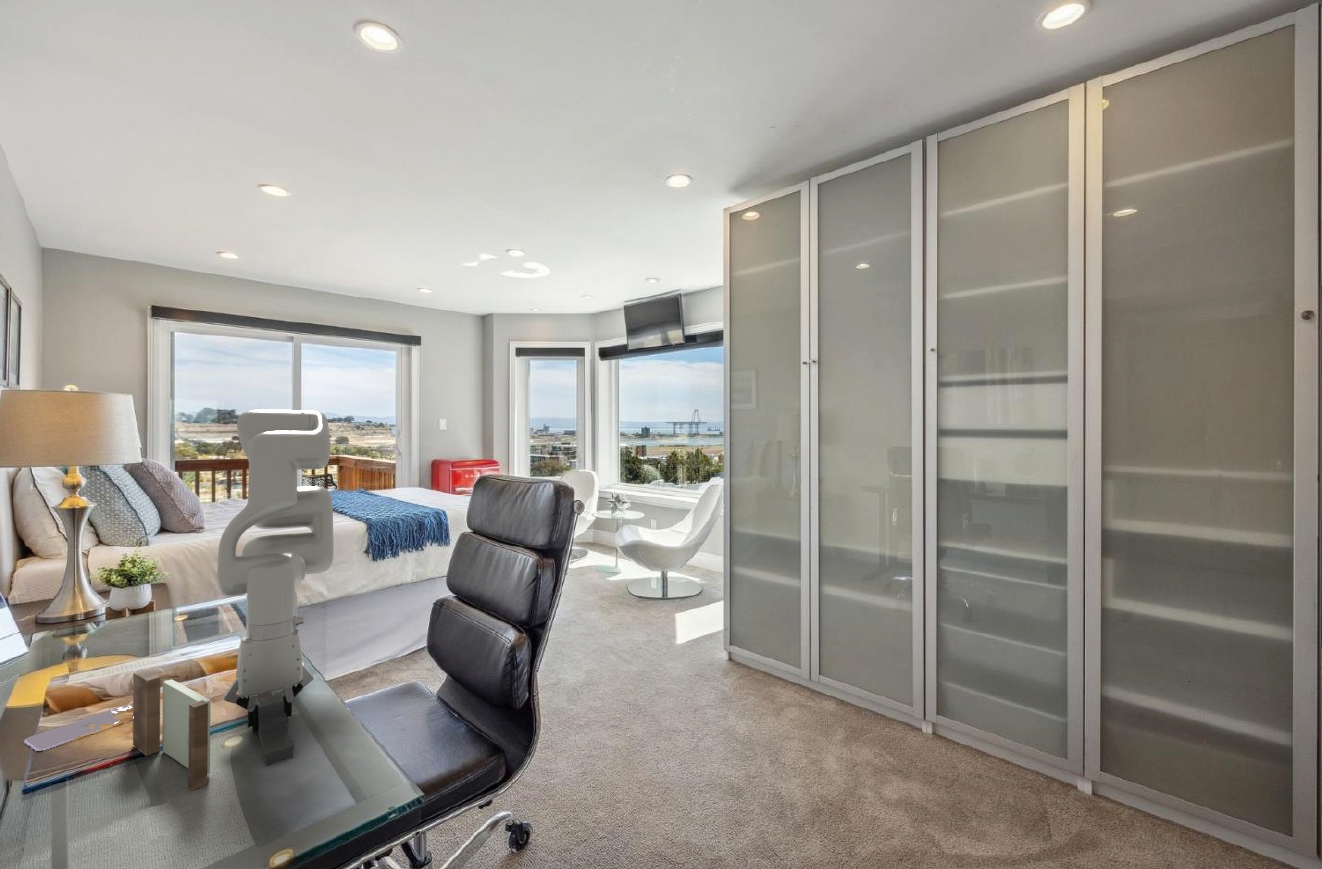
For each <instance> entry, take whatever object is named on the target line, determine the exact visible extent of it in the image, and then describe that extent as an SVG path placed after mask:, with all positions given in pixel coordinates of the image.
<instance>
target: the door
mask: <svg viewBox="0 0 1322 869" xmlns="http://www.w3.org/2000/svg"><path fill="white" fill-rule="evenodd" d="M201 700H204V701H206V702H207V703H208V758H207V776H208V775H210V774H211V699H209V698H207V697H206V696H203V695H202V694H200V693H198V692H197V691H194V690H193V689H191V688H189V687H187V686H185V685H183V684H182V683H179V682H178V681H176V680H174V679H166V680H163V681H162V735H161V736H162V738H161V739H162V741H161V742H162V747H161V748H162V751H163V752H164V754H166V755H168V756H169V757H171V758H172V759H174V760H176V762H178V763H180V764H181V765H183V766H184V767H185V768H187V769H188V764H189V704H192V703H195V702H198V701H201Z"/></svg>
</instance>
